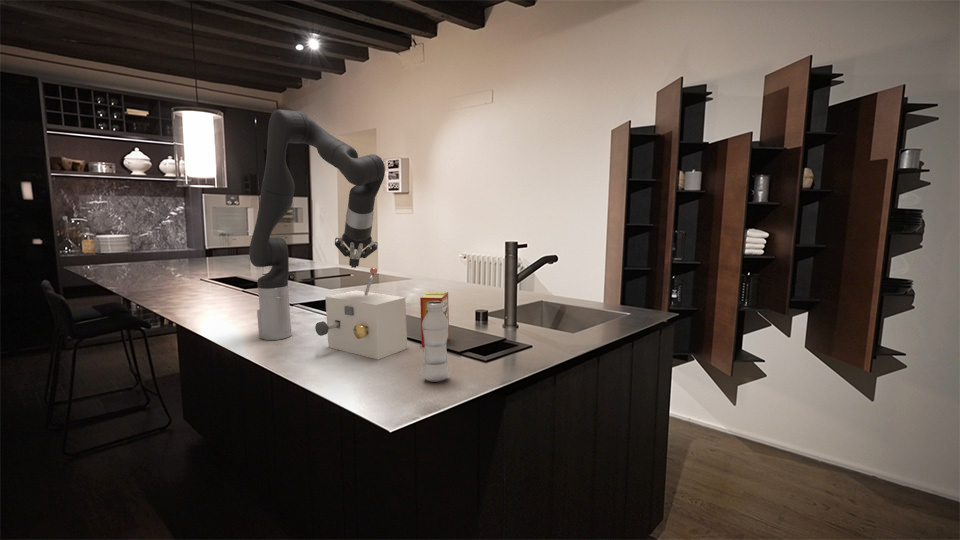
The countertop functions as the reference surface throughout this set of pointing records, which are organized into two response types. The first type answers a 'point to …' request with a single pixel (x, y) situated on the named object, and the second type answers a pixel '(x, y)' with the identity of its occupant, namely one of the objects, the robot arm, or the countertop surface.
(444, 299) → the baking soda box
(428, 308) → the plastic bottle
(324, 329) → the black plunger
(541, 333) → the countertop surface
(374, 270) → the toggle lever
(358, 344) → the console
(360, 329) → the brass plunger
